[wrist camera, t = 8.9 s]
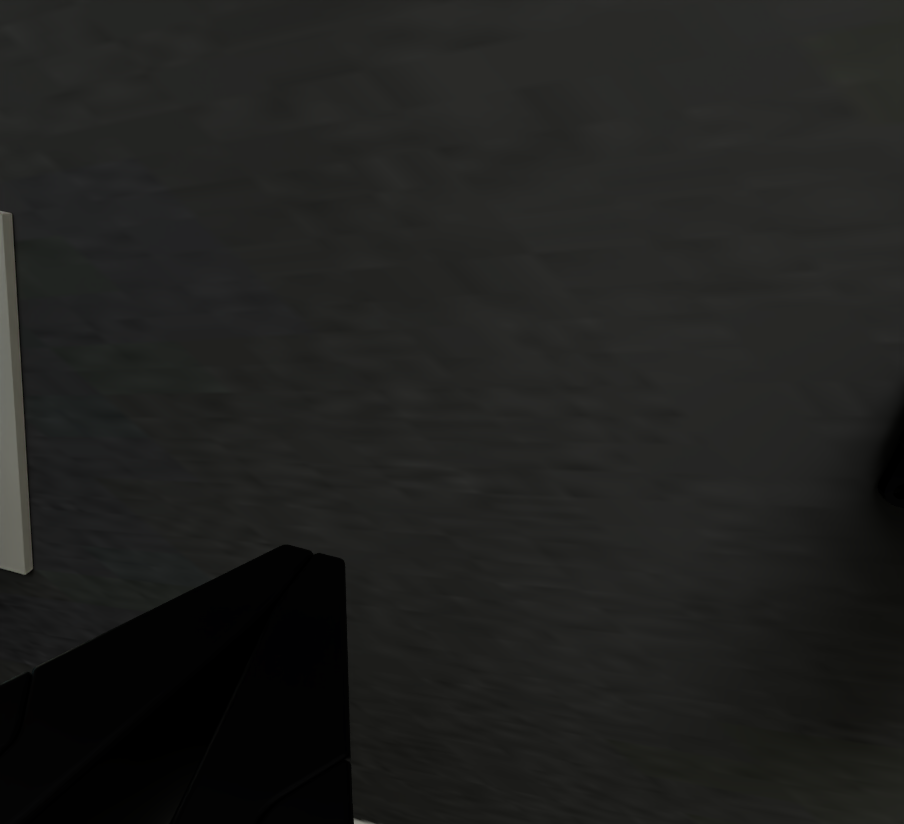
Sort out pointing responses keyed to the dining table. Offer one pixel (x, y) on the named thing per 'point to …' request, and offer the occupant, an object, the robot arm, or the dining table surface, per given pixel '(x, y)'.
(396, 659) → the dining table surface
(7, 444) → the mat
